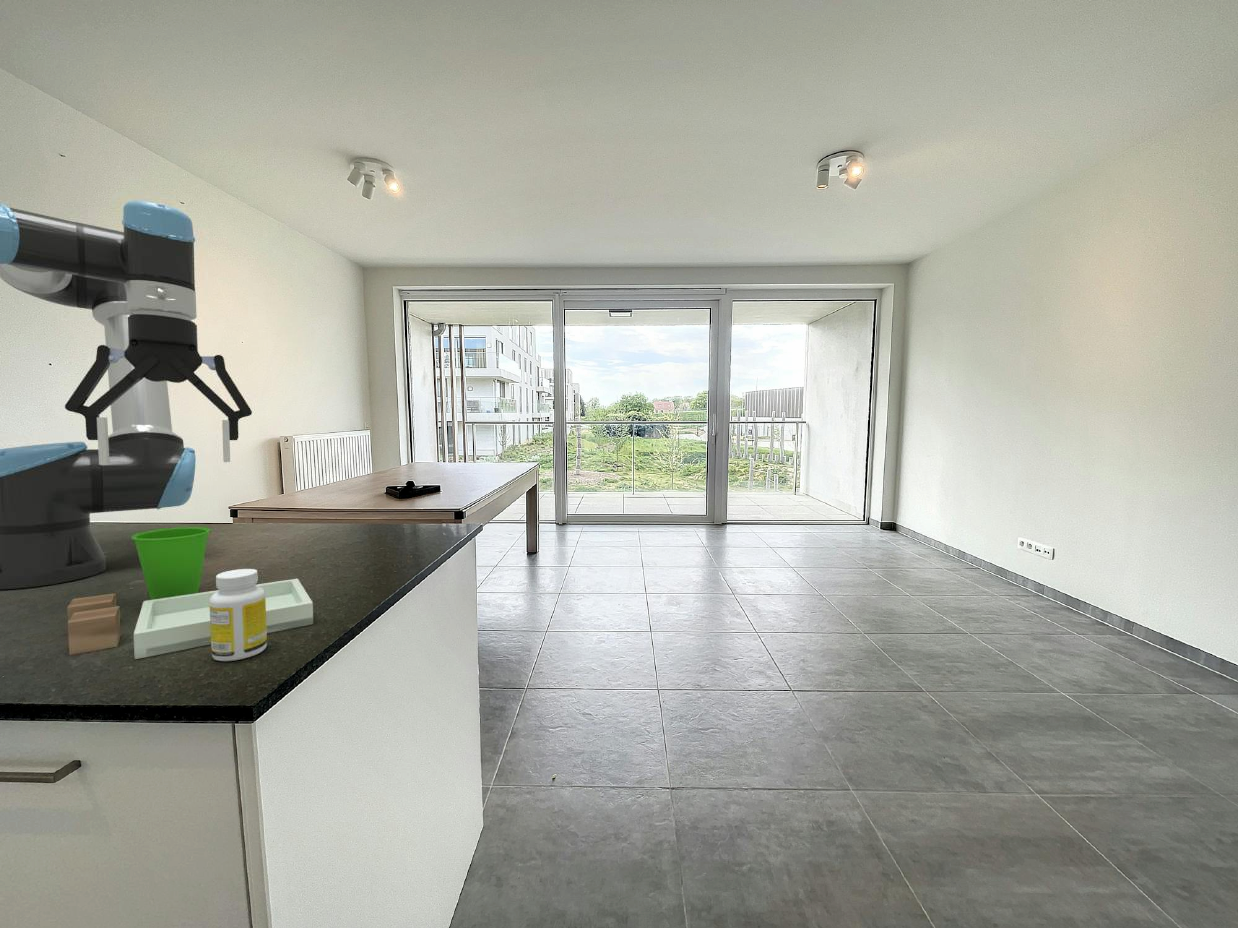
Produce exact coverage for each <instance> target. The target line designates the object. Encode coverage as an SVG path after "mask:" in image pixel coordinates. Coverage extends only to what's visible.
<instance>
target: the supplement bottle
mask: <svg viewBox="0 0 1238 928" xmlns="http://www.w3.org/2000/svg"><path fill="white" fill-rule="evenodd" d="M258 580H259V575H258V570H257V569H254V568H241V569H240V568H239V569H232V570H227V571H222V572H220V573H218V574H217V575H216V576H215V585H216V589H217V590H219V592H217V593H215V594H214V595H213V596H212V597H211V598H210V605H209V606H210V630H211V644H210V646H211V648H210V649H211V656H212V658H213V660H215V661H220V662H232V661H238V660H244V659H247V658H250V657H253V656H256V655H259V654H260V653H262V652H263V651H265V649H266V648H267V646H268V636H267V635H268V633H267V624H266V603H265V592H264V590H263V589H262V588H260V587H258V586H256V585H257V583H258Z"/></svg>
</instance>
